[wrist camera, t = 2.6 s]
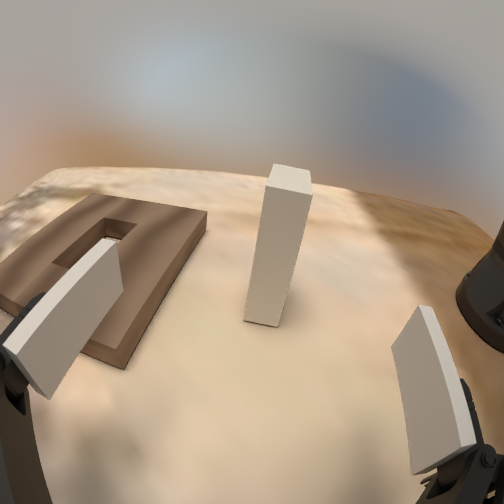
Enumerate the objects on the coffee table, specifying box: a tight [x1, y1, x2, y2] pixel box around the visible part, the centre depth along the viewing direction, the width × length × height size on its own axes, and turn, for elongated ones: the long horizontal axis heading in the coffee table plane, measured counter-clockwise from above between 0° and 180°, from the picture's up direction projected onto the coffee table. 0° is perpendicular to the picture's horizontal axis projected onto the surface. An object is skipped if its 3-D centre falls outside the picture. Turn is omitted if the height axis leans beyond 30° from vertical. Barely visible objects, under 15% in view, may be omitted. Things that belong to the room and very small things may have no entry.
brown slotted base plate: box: [0, 193, 207, 369], centre depth 27 cm, size 18×22×2 cm
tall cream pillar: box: [244, 164, 313, 327], centre depth 23 cm, size 3×6×12 cm, turn 171°
